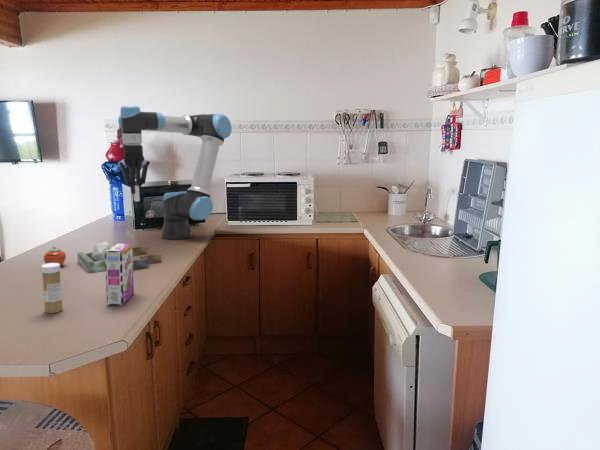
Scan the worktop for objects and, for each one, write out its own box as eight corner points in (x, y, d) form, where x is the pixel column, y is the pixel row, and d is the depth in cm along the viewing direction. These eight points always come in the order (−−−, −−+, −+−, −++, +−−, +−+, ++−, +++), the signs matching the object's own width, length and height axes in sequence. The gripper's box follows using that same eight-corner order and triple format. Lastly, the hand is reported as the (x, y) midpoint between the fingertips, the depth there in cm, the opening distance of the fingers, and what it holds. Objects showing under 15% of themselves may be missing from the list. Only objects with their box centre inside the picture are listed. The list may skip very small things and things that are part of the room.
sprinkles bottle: (45, 309, 124) (41, 263, 121) (63, 307, 126) (59, 261, 123) (44, 315, 120) (40, 267, 117) (63, 312, 122) (59, 265, 119)
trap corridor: (142, 251, 192) (141, 242, 192) (166, 265, 172) (166, 255, 171) (74, 260, 176) (74, 250, 175) (92, 276, 155) (91, 265, 154)
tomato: (41, 269, 161) (40, 248, 160) (47, 264, 168) (45, 244, 167) (64, 268, 163) (62, 248, 162) (68, 263, 170) (67, 243, 169)
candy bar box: (124, 305, 128) (121, 251, 125) (106, 306, 127) (103, 251, 124) (135, 293, 139) (133, 242, 136) (118, 293, 138) (116, 242, 135)
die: (88, 266, 169) (98, 249, 165) (88, 251, 175) (98, 234, 172) (109, 271, 174) (119, 254, 170) (109, 256, 180) (119, 239, 176)
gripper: (119, 145, 174) (124, 203, 179) (151, 144, 182) (155, 200, 187) (113, 144, 179) (118, 201, 184) (144, 144, 188) (148, 198, 193)
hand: (136, 201), depth 186 cm, fingers closed
